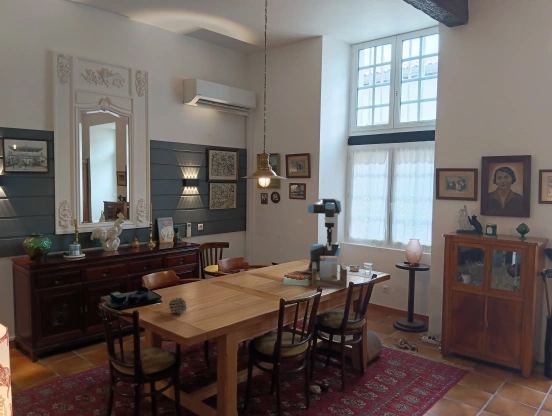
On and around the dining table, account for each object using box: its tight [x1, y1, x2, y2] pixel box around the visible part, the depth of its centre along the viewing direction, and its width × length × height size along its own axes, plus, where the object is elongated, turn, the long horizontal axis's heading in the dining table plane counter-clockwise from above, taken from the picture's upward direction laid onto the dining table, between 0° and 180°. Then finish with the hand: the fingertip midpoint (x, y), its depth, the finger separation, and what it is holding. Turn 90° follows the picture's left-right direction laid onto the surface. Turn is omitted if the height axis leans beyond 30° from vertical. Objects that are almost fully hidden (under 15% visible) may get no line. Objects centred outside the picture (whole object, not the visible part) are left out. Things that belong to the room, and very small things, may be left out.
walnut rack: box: [311, 262, 348, 289], centre depth 343 cm, size 26×26×14 cm
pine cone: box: [165, 297, 188, 314], centre depth 266 cm, size 22×10×10 cm, turn 49°
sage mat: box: [282, 276, 310, 287], centre depth 347 cm, size 24×20×1 cm
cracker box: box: [319, 256, 339, 280], centre depth 345 cm, size 14×6×21 cm, turn 84°
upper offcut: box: [321, 278, 338, 280], centre depth 339 cm, size 6×12×2 cm, turn 88°
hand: (328, 248), depth 344 cm, fingers open, 13 cm apart
